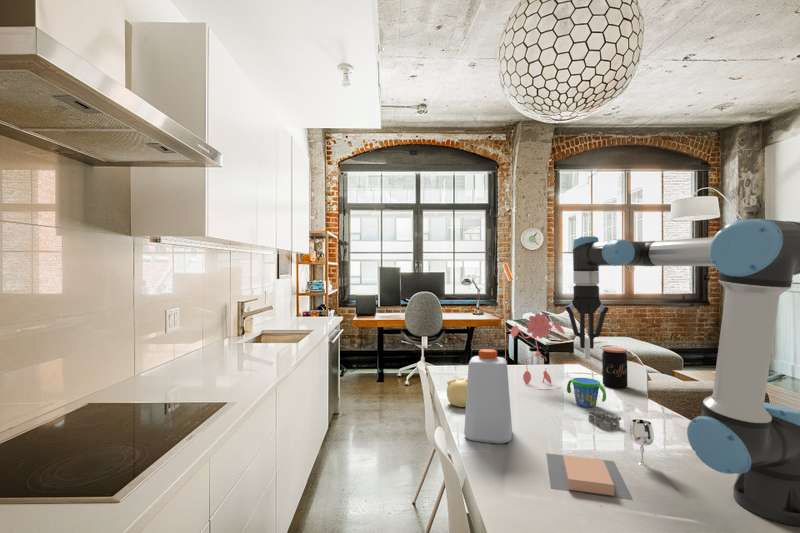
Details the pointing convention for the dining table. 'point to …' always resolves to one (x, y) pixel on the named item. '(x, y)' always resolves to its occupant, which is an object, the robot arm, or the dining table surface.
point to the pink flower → (540, 329)
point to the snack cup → (586, 391)
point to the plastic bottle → (488, 399)
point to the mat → (560, 483)
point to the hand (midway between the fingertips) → (586, 358)
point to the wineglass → (641, 434)
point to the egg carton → (600, 417)
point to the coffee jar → (614, 367)
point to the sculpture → (457, 392)
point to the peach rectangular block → (587, 475)
